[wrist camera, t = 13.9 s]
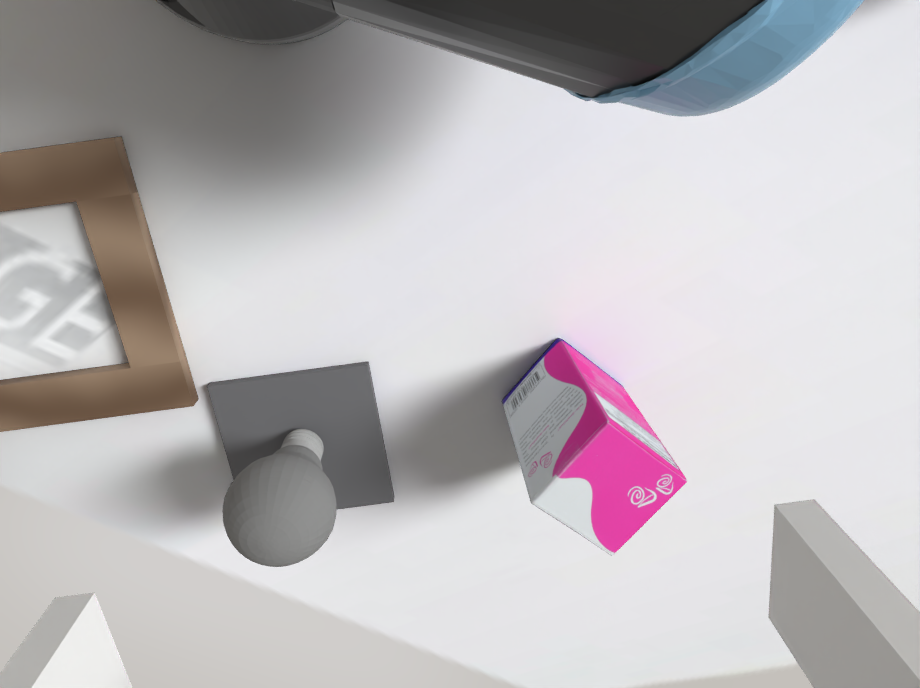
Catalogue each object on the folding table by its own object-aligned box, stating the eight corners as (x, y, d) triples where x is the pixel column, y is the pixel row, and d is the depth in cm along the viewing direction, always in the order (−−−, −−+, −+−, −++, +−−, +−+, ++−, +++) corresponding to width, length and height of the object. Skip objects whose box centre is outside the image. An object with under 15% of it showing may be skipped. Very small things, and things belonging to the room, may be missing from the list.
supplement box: (567, 449, 45) (610, 562, 34) (499, 400, 43) (522, 502, 33) (627, 386, 44) (691, 483, 33) (559, 333, 42) (603, 417, 31)
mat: (210, 382, 42) (207, 386, 42) (368, 361, 42) (367, 365, 42) (248, 516, 46) (245, 521, 45) (394, 496, 46) (393, 501, 45)
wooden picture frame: (-168, 175, 37) (-184, 177, 36) (121, 136, 37) (113, 137, 36) (-53, 432, 43) (-63, 440, 42) (198, 399, 42) (193, 406, 42)
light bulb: (355, 481, 44) (332, 590, 35) (263, 484, 44) (217, 594, 35) (347, 400, 42) (321, 493, 33) (251, 403, 42) (198, 497, 33)
